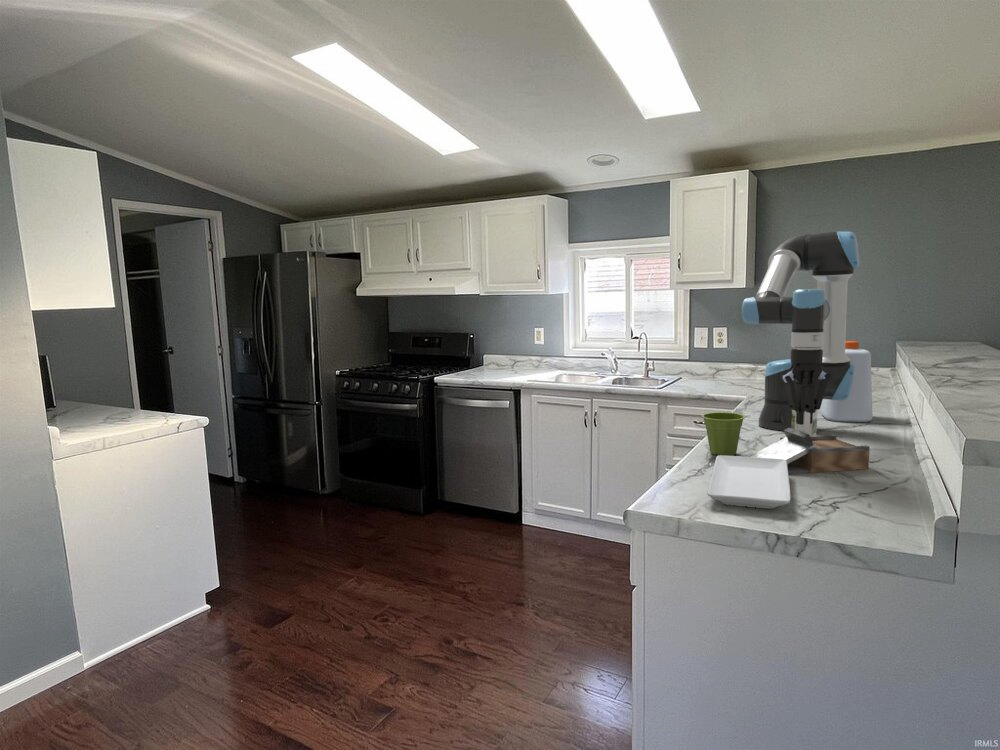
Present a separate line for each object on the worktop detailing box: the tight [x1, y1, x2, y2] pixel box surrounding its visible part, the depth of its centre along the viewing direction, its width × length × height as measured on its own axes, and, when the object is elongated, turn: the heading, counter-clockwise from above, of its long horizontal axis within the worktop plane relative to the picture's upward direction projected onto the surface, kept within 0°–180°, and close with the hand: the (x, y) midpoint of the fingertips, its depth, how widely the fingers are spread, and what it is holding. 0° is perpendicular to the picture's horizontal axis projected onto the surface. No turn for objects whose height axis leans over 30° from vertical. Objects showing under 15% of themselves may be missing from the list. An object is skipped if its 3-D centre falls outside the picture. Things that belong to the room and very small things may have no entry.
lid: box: [748, 428, 817, 464], centre depth 160 cm, size 13×11×4 cm
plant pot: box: [701, 411, 746, 456], centre depth 174 cm, size 12×12×11 cm
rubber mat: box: [787, 463, 808, 475], centre depth 160 cm, size 16×14×1 cm
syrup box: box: [791, 410, 819, 436], centre depth 176 cm, size 6×6×14 cm
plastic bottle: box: [820, 340, 874, 423], centre depth 216 cm, size 15×15×28 cm
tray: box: [706, 455, 792, 510], centre depth 142 cm, size 17×32×4 cm, turn 156°
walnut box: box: [779, 434, 870, 474], centre depth 161 cm, size 16×14×6 cm
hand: (803, 435), depth 160 cm, fingers closed
